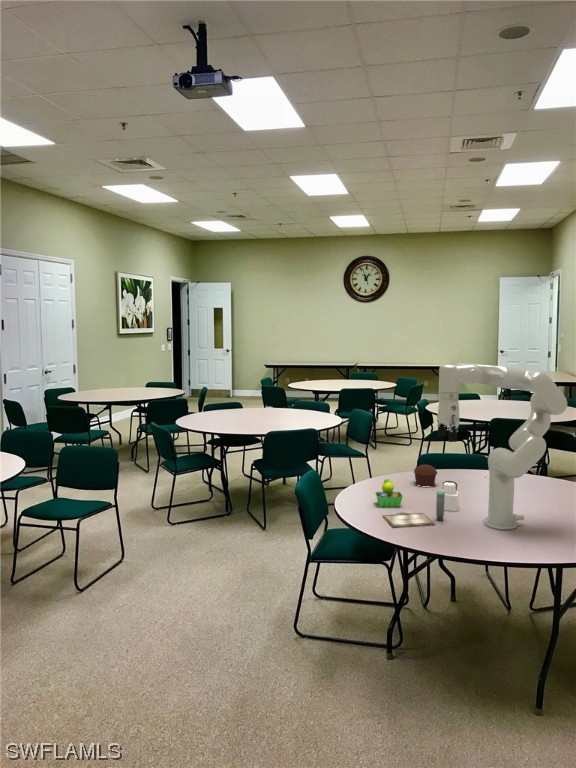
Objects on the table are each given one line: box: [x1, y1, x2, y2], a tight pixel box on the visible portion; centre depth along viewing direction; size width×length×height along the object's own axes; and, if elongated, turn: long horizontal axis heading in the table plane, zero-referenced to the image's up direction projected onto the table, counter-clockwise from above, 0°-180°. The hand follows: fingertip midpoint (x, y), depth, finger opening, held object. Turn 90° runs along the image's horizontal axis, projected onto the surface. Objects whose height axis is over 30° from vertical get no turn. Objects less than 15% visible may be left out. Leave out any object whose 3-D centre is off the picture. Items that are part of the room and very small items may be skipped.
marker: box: [435, 490, 445, 522], centre depth 236 cm, size 3×3×12 cm
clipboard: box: [382, 511, 436, 529], centre depth 235 cm, size 18×13×2 cm
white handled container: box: [441, 480, 459, 512], centre depth 250 cm, size 7×7×12 cm
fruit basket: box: [375, 478, 404, 508], centre depth 255 cm, size 11×9×11 cm
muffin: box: [413, 464, 438, 487], centre depth 285 cm, size 12×11×10 cm
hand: (447, 438), depth 223 cm, fingers open, 9 cm apart
